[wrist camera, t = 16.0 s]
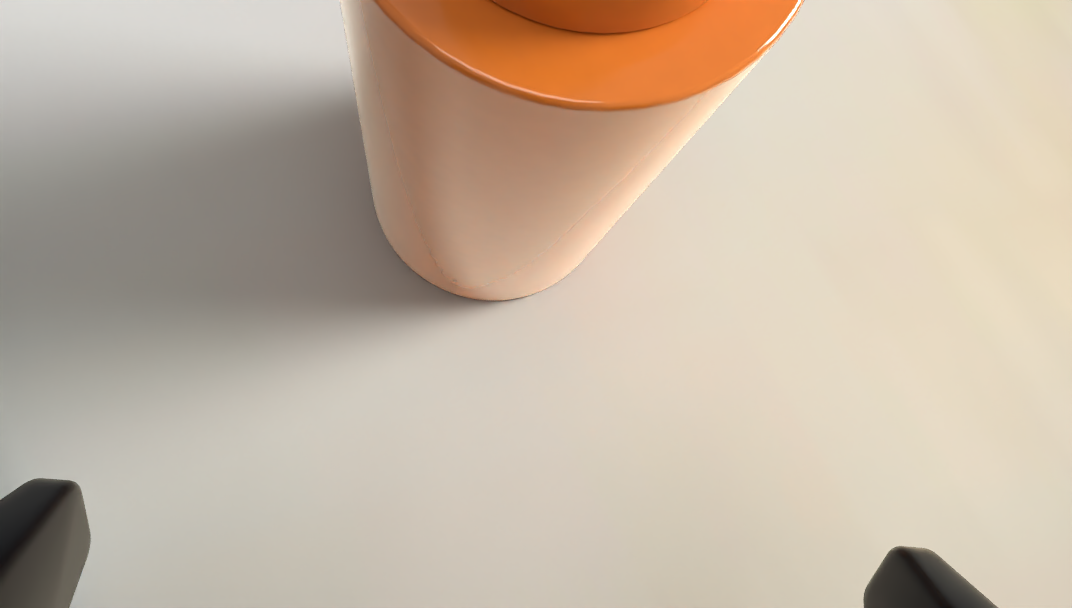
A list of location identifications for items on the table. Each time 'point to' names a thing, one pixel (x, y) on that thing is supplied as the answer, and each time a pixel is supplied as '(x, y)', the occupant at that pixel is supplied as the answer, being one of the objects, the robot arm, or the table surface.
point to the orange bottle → (534, 120)
